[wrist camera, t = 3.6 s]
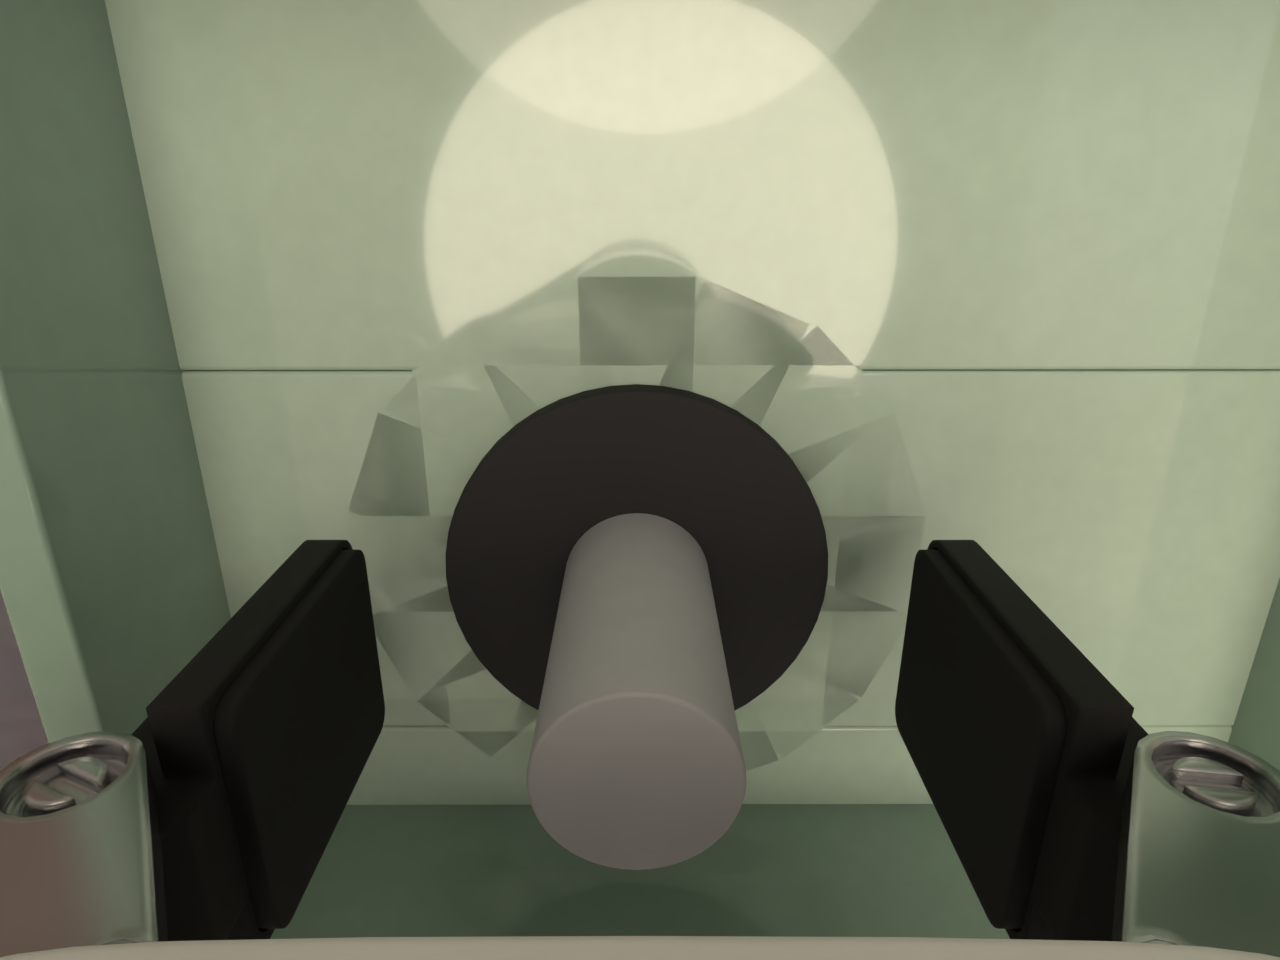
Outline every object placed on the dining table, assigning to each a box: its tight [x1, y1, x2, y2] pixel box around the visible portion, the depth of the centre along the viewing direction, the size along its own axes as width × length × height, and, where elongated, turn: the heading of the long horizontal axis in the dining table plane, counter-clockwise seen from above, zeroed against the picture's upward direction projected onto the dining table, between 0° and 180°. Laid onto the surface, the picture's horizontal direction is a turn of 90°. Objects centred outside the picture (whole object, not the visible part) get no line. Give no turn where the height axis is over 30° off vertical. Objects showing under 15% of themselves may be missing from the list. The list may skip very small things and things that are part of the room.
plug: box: [446, 384, 828, 870], centre depth 12 cm, size 6×6×6 cm
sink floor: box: [105, 0, 1280, 805], centre depth 13 cm, size 16×20×1 cm
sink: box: [0, 0, 1280, 939], centre depth 12 cm, size 16×20×4 cm
